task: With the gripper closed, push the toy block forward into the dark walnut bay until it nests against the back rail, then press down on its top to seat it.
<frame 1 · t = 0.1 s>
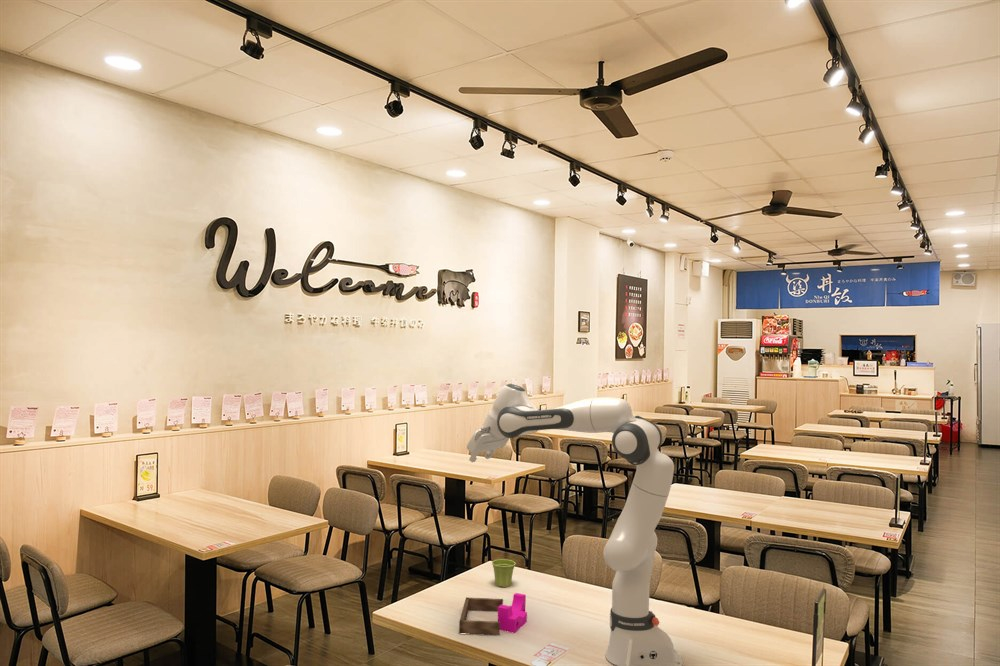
hand: (479, 459, 233), 54 cm above the table, tool tilted 30°, fingers open, 8 cm apart
toy block: (515, 624, 226), on the table
plant pot: (503, 585, 264), on the table
walnut bay: (477, 621, 227), on the table
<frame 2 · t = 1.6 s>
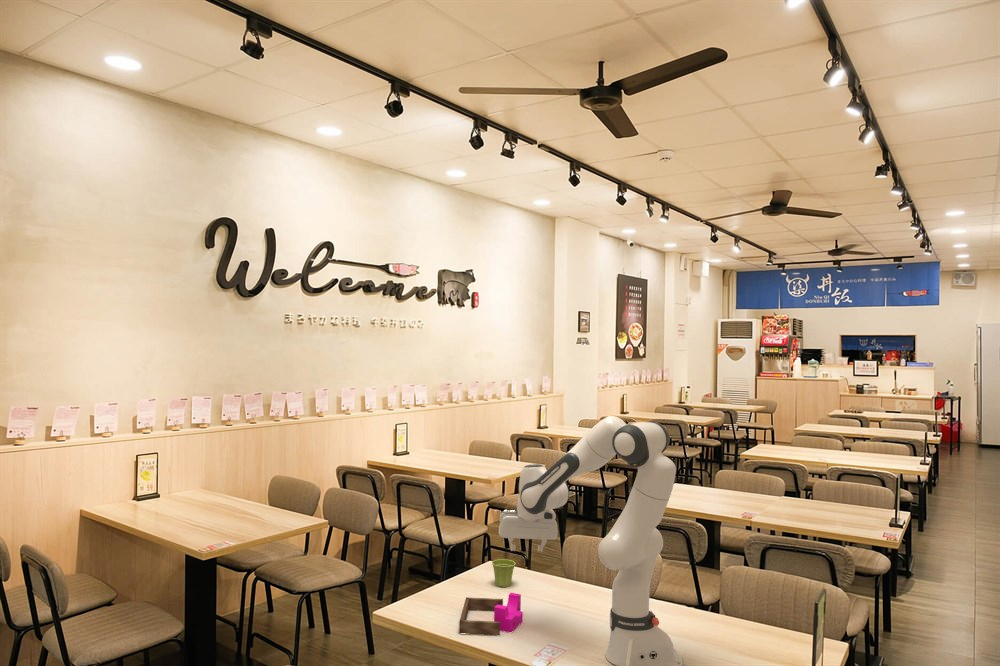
hand: (526, 550, 229), 24 cm above the table, tool pointing down, fingers open, 8 cm apart
toy block: (510, 624, 226), on the table
everything else where it was.
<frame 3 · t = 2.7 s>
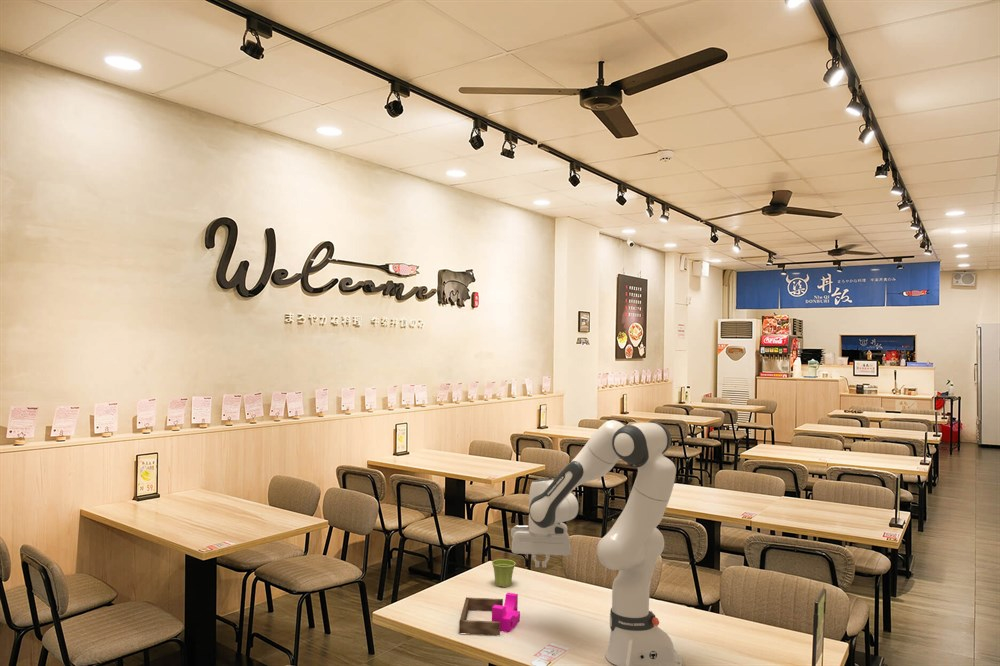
hand: (540, 567, 226), 19 cm above the table, tool pointing down, fingers closed
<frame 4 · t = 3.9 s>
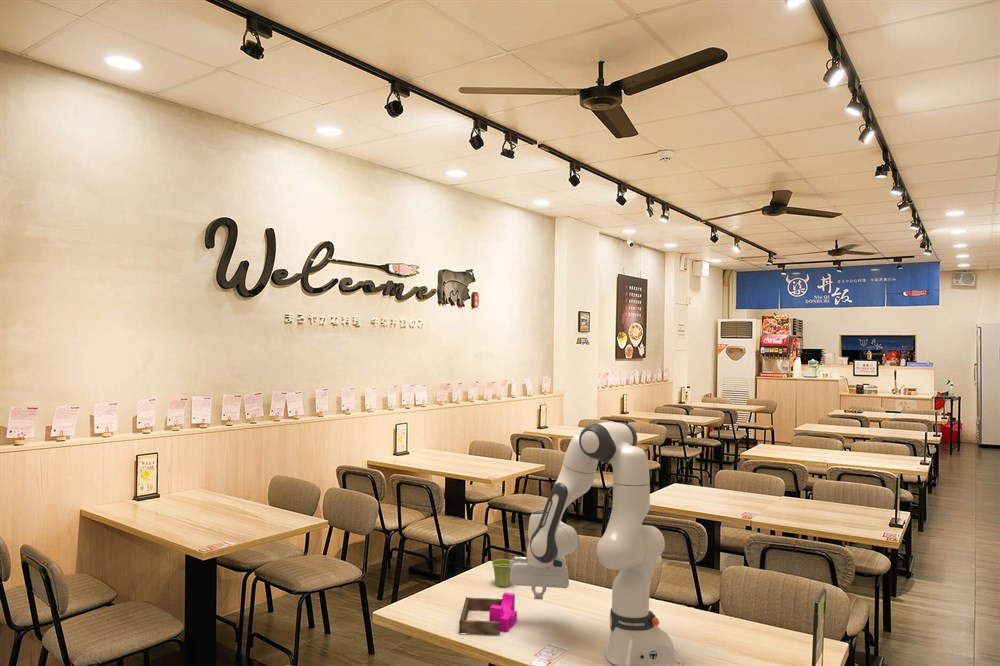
hand: (538, 598, 227), 8 cm above the table, tool pointing down, fingers closed
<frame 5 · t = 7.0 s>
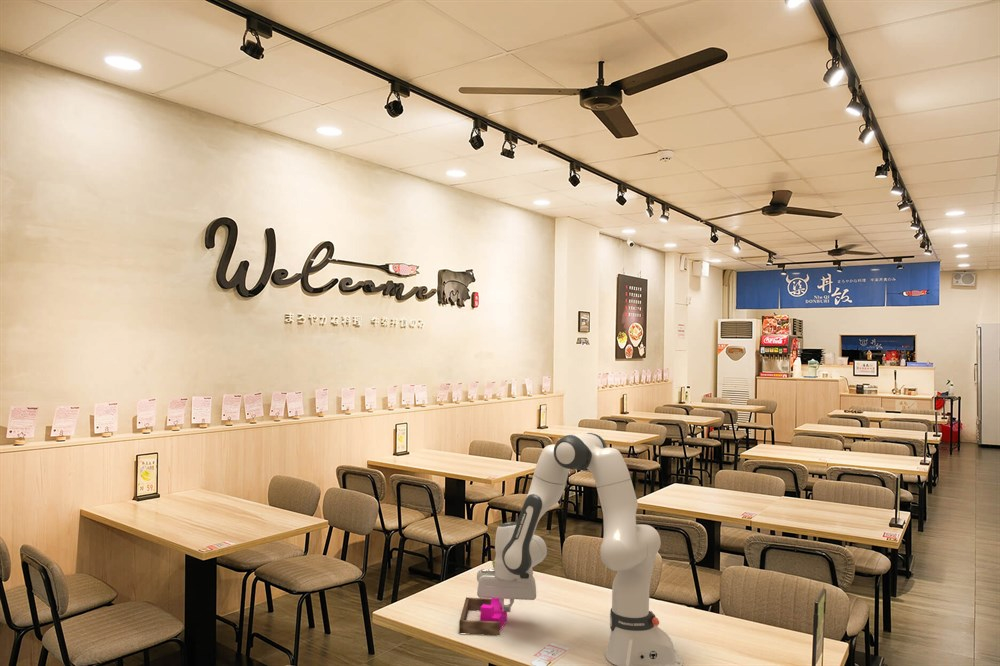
hand: (506, 611, 227), 4 cm above the table, tool pointing down, fingers closed
toy block: (495, 623, 227), on the table
everything else where it was.
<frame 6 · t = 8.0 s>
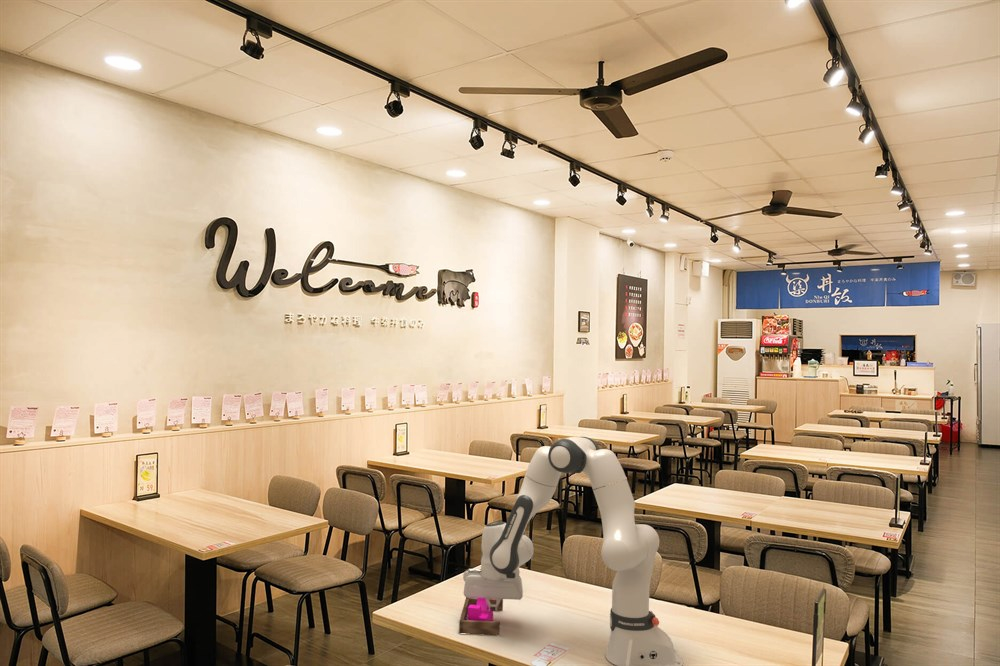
hand: (492, 610, 227), 4 cm above the table, tool pointing down, fingers closed
toy block: (482, 623, 226), on the table
everything else where it was.
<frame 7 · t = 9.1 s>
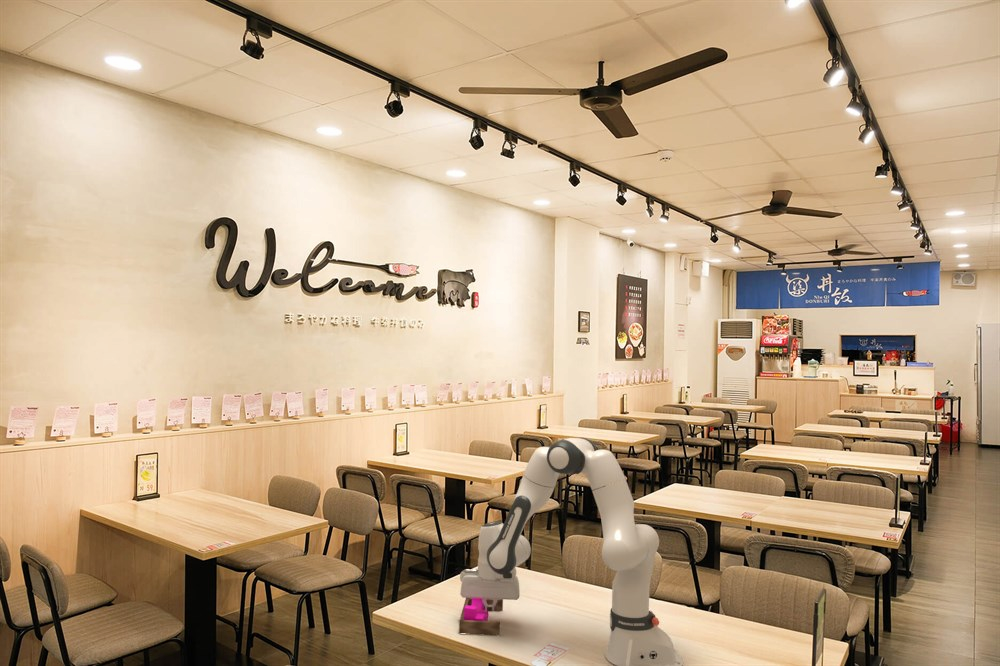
hand: (489, 611, 227), 4 cm above the table, tool pointing down, fingers closed
toy block: (477, 623, 226), on the table, touching gripper, walnut bay
everything else where it was.
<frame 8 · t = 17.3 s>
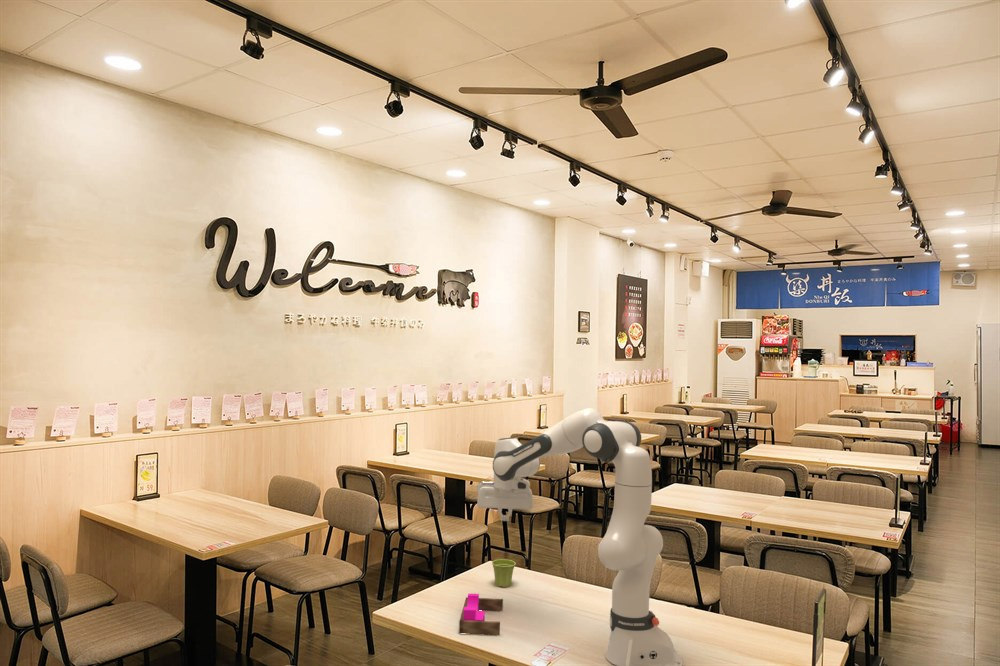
hand: (504, 520, 241), 31 cm above the table, tool pointing down, fingers closed
toy block: (474, 624, 225), on the table
everything else where it was.
at the end: toy block 2.3 cm off-centre on the walnut bay, point 0.0 cm above the walnut bay's base; toy block tilted 0°; the gripper is holding nothing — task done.
